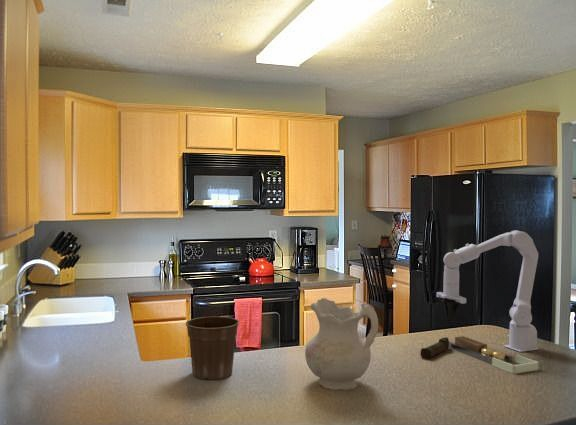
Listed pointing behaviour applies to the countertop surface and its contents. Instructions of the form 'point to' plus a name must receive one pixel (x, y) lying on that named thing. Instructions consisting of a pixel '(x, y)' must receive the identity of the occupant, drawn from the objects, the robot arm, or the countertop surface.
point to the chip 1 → (487, 351)
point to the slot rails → (476, 353)
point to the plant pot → (212, 346)
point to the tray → (524, 365)
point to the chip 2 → (498, 355)
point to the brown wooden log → (435, 348)
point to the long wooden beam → (470, 343)
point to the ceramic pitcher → (340, 345)
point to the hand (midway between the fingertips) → (450, 318)
